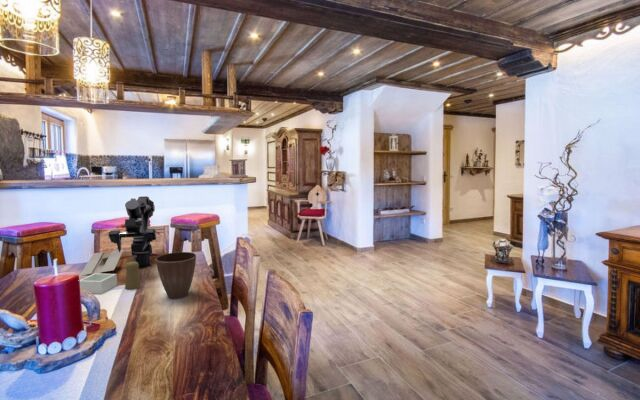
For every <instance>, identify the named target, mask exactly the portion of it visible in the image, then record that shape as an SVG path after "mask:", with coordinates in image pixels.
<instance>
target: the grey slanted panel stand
mask: <svg viewBox="0 0 640 400" xmlns="http://www.w3.org/2000/svg"><path fill="white" fill-rule="evenodd" d="M124 251H125V249H123V248H121V251H120V252H119V250H118V249H116V250H115V249H114V250H111V251H110V252H108V253H105V252H104V251H102V252H93V254H92V255H91V256H90V258H89V260H88V262H86V265H85V266H84V268H82V271H81V273H80V274H79V276H85V275H92V274H94V273H98V274H103V273H105V272H111V271H114V270H115V269H116V267H117V265H118V262H119V261H120V258H121V256H122V254H123V252H124Z"/></svg>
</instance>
